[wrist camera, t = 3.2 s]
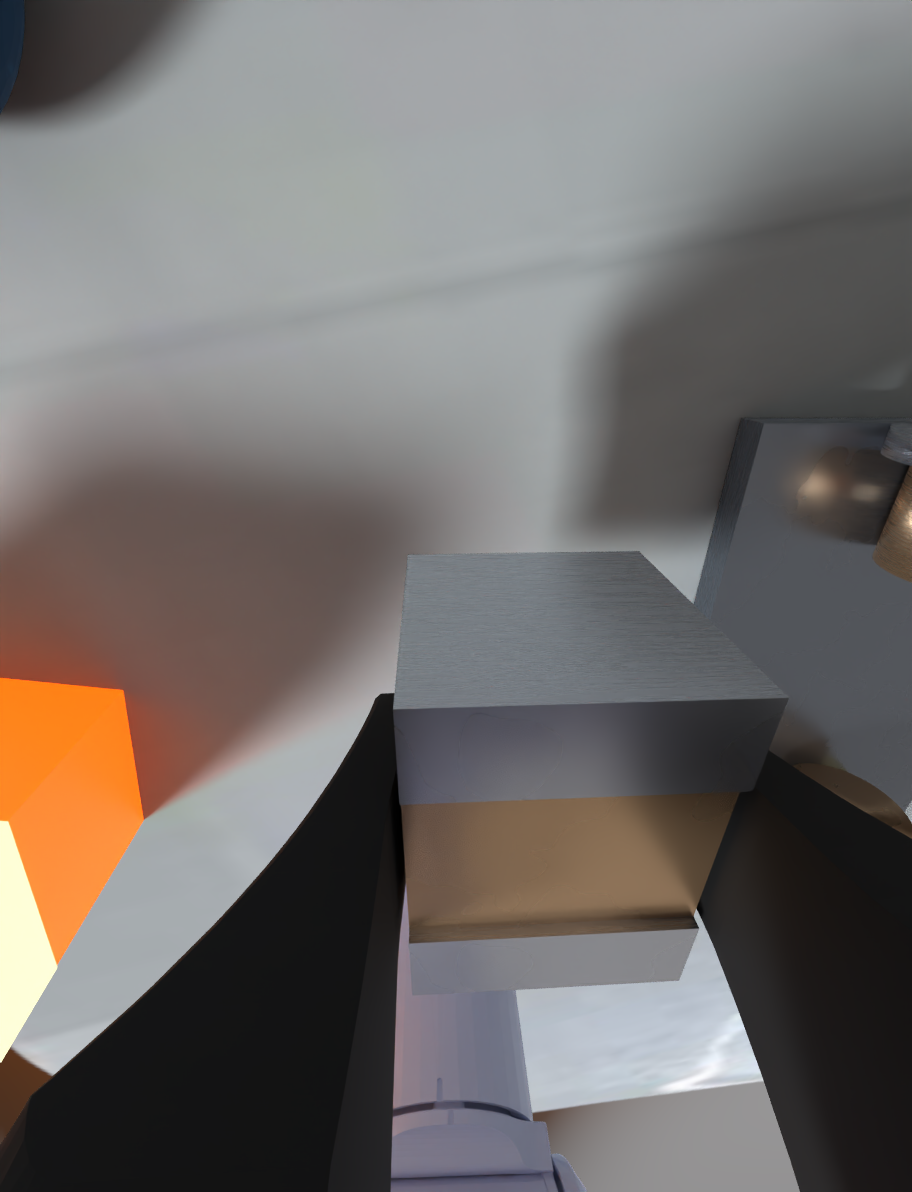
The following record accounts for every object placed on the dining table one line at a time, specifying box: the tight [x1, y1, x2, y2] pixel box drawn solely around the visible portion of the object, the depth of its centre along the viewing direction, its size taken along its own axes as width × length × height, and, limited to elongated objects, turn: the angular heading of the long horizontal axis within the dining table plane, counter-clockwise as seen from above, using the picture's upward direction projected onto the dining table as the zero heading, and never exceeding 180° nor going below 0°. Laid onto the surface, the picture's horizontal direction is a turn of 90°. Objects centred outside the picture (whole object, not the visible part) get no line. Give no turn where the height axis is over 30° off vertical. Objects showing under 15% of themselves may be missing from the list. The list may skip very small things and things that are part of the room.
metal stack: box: [694, 418, 912, 838], centre depth 17 cm, size 18×12×6 cm, turn 0°
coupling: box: [393, 551, 789, 996], centre depth 9 cm, size 6×5×5 cm
